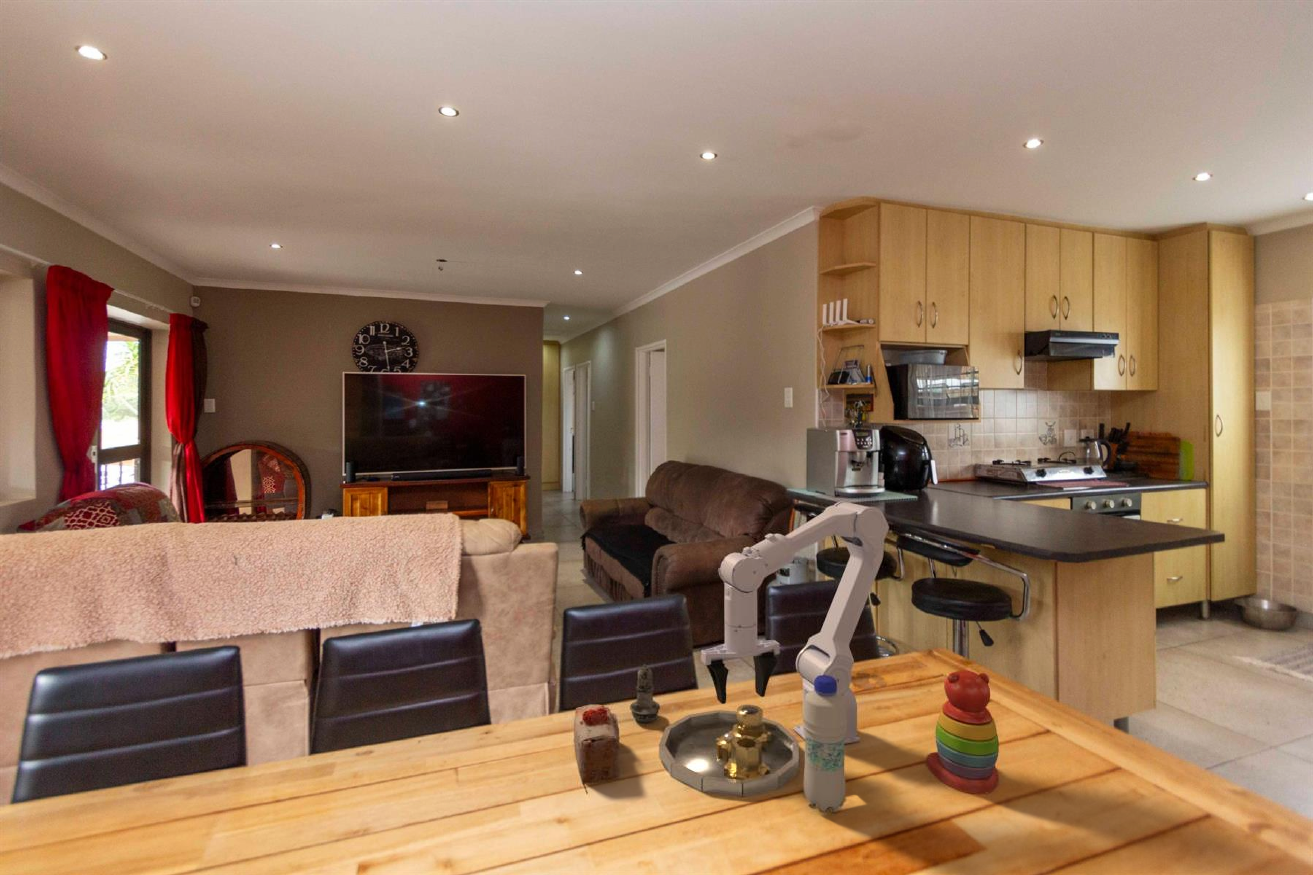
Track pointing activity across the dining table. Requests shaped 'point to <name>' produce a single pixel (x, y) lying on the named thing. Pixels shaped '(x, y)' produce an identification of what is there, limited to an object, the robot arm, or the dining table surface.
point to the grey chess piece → (644, 698)
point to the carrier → (727, 751)
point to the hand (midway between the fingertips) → (741, 697)
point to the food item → (596, 743)
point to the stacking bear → (966, 736)
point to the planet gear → (745, 759)
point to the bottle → (824, 745)
